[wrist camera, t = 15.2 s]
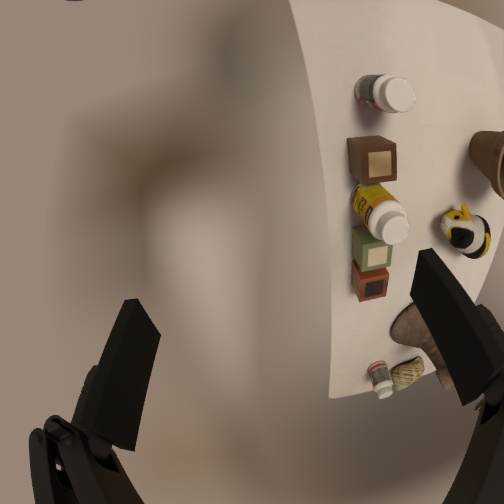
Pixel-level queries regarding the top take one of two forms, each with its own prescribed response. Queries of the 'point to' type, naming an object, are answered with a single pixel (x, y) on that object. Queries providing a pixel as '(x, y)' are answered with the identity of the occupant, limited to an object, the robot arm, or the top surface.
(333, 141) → the top surface
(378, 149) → the block near
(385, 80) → the pill bottle
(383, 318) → the top surface
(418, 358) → the seashell
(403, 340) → the sculpture
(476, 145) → the flower pot
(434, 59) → the top surface
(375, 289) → the block end
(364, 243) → the block far
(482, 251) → the figurine
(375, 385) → the pill bottle
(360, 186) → the supplement bottle
